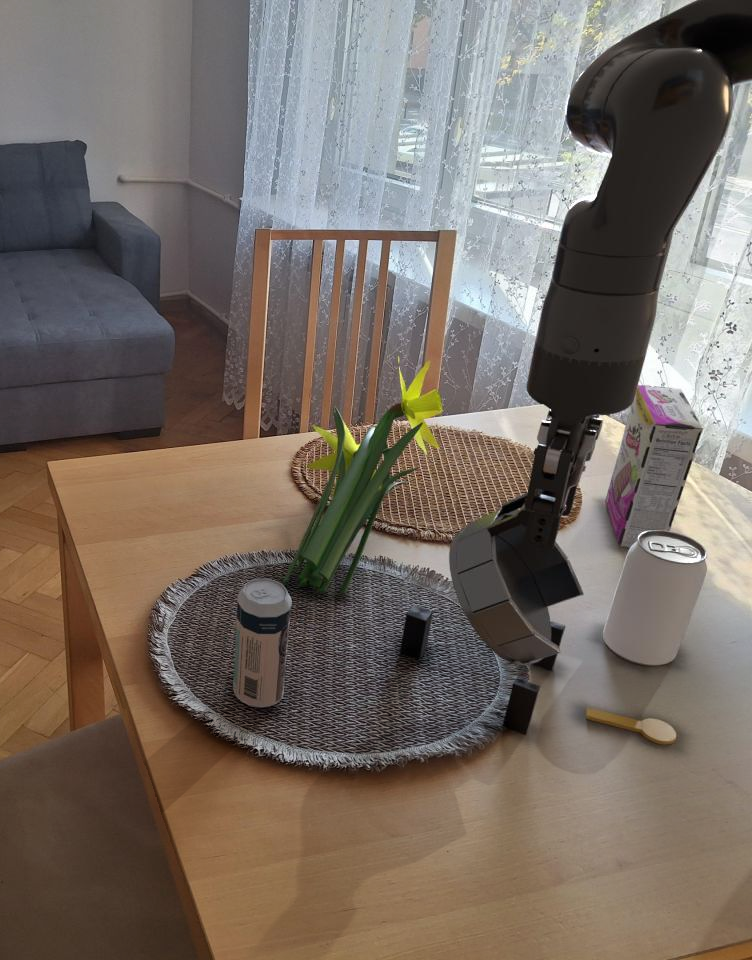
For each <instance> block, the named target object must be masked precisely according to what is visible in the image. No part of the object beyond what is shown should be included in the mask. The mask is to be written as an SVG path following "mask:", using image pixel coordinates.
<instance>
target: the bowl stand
mask: <svg viewBox="0 0 752 960" xmlns="http://www.w3.org/2000/svg"><path fill="white" fill-rule="evenodd" d="M433 615H434V610H431V609H428V608H426V607H423V606H420V605H417V604H412V605H411V607H410V608H409V609H408V611H407V612H406V614H405V619H404V625H403V633H402V636H401V637H402V638H401V643H400V644H401V645H400V649H399V654H402V655H404V656H407V657H410V658H412V659H415V660H418V661H421V658H422V657H423V655H424V654H425V652H426V650H427V646H428V641H429V635H430V630H431V625H432V619H433ZM550 621H551V642H553V643H554V644H556V645H557V646H559V647H561V644H562V640H563V636H564V633H565V629H566V625H565V624H563V623H559V622H556V621H553V620H550ZM557 658H558V654H555V655H552V656H548V657H545V658H543V659H542V660H540V661H539V662H536V663H533V664H532V665H533V666H536V667H539V668H542V669H545V670H548V671H551V672H552V671H553V670H554V667H555V665H556V661H557ZM540 689H541V685H538V684H535V683H532V682H530V681H527V680H525V679H521V678H520V677H515V679H514V681H513V684H512V686H511V691H510V695H509V699H508V703H507V706H506V710H505V715H504V718H503V721H502V727H504V728H507V729H510V730H513V731H515V732H517V733H520V734H523V735H525V736H526V735H527V734H528V731H529V729H530V726H531V722H532V718H533V715H534V710H535V709H536V708H535V707H536V703H537V700H538V696H539V693H540Z"/></svg>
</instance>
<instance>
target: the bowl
mask: <svg viewBox="0 0 752 960" xmlns="http://www.w3.org/2000/svg"><path fill="white" fill-rule="evenodd" d="M527 494H528V492H526V493H523V494H521V495H519V496H517V497H514V498H512V499H510V500H508V501H506V502H504V503H503V504H502V505H501V507H500V509H497V510H495V511H493V512H491V513H488V514H486V515H484V516H481V517H479V518H477V519H474V520H472V521H470V522H468V523H467V524H466V526H465V527H463V528H461V529H460V530H458V531H457V532H456V533H455V535H454V536H453V537H452V540H451V543H450V546H449V553H448V563H449V564H448V565H449V573H450V579H451V581H452V585H453V586H452V587H453V589H454V592H455V594H456V595H455V596H456V598H457V600H458V602H459V605H460V607H461V609H462V611H463V613H464V615H465V617H466V618H467V620H468V622H469V623H470V625H471V627H472V628H473V630H474V631H475V633H476V634H477V635H478V637H479V638H480V639H481V640H482V641H483V643H484V644H485V645H486V646H487V647H488V648H489V649H490V650H491V651H492V652H493V653H494V654H496V655H497V656H498V657H500V658H501V659H503V660H505V661H507V662H508V663H510V664H513V665H516V666H530V665H533V663H536V662H539V661H540V660H542V659H543V658H545V657H548V656H552V655H555V654H557V655H558V654H561V648H560V647H561V646H560V647H559V646H557V645H556V644H554V643H553V642H551V621H552V620H551V615H550V611H549V608H550V607H552V606H556V605H558V604H562V603H564V602H566V601H569V600H573V599H576V598H579V597H581V596H582V597H583V596H584V595H585V593H584V591H583V589H582V586H581V584H580V582H579V580H578V577H577V575H576V572H575V569H574V568H573V566H572V564H571V562H570V559H569V557H568V556H567V554H566V553H565V552H564V551H563V549H562V548H561V546H560V545H559V543H557V540H556V541H555V545H554V547H553V549H552V550H551V551H550V552H545V551H541V550H537V549H534V548H530V547H527V546H526V545H525V544H524V538H525V533H526V529H527V524H528V519H529V515H530V511H528V510H525V505H524V503H525V500H526V499H527ZM540 494H542V495H546V496H550V497H552V495H553V492H549V491H545V490H541V493H540Z"/></svg>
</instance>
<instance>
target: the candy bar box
mask: <svg viewBox="0 0 752 960" xmlns="http://www.w3.org/2000/svg"><path fill="white" fill-rule="evenodd" d="M703 431H704V428H703V426H702V424H701V422H700V421H699V418H698V416H697V415H696V413H695V411H694V410H693V407H692V405H690V402H689V401H688V398H687V397H686V395H685V393H684V392H683V389H682V388H679V387H678V388H677V387H665V386H658V385H657V386H656V385H654V386H651V385H649V384H648V385H647V384H642V385H639V384H638V387H637V391H636V394H635V398H634V401H633V403H632V404H631V406H630V409H629V412H628V416H627V420H626V423H625V427H624V430H623V434H622V438H621V442H620V445H619V449H618V452H617V457H616V461H615V464H614V467H613V471H612V475H611V479H610V482H609V486H608V490H607V493H606V496H605V500H604V503H605V506H606V509H607V512H608V516H609V519H610V522H611V525H612V528H613V529H612V530H613V532H614V536H615V539H616V542H617V546H618V547H619V548H623V549H628V550H629V549H630V547H631V546H632V545H633V544H634V543H635V542H637V538H638V536H639V535H640V534H641V533H643V532H646V531H651V530H663V531H670V532H671V528H672V525H673V522H674V519H675V516H676V514H677V513H676V512H677V509H678V507H679V503H680V501H681V498H682V494H683V491H684V489H685V485H686V481H687V479H688V476H689V473H690V470H691V468H692V464H693V460H694V458H695V455H696V451H697V448H698V445H699V442H700V438H701V435H702V433H703Z"/></svg>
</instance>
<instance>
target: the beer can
mask: <svg viewBox="0 0 752 960" xmlns="http://www.w3.org/2000/svg"><path fill="white" fill-rule="evenodd" d="M236 600H237V601H236V622H235V638H234V639H235V641H234V643H235V644H234V661H233V662H234V663H233V679H232V680H233V681H232V682H233V685H232V691H233V693H234V696H235V697H236V698H237V699H238V700H239V701H241V703H244V704H246V705H248V706H250V707H253V708H269V707H272V706H274V705H277V704H278V703H279V702H281V700H282V699H283V697H284V694H285V683H286V681H285V680H286V669H287V657H288V647H289V646H288V645H289V634H290V622H291V614H292V613H291V612H292V611H291V610H292V605H293V601H292V597H291V596H290V594H289V592H288V590H287V588H286V587H285V586H283V585H282V582H279V581H277V580H274V579H272V578H254V579H252V580H250V581H248V582H246V583H244V586H243V587H242V588H241V590H240V591H239V592H238V595H237V599H236Z"/></svg>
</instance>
